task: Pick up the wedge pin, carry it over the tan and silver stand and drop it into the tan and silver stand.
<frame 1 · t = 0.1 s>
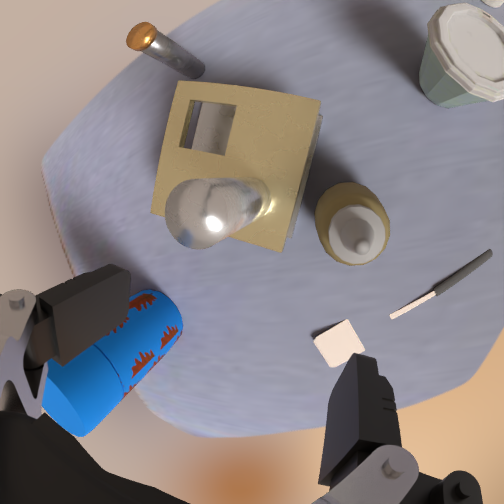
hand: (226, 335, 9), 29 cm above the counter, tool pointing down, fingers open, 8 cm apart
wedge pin: (195, 69, 35), on the counter
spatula: (410, 303, 36), on the counter
thermos: (156, 317, 47), on the counter
disposable coffee cup: (437, 85, 27), on the counter
tan and silver stand: (247, 161, 37), on the counter
squeeze bottle: (347, 213, 35), on the counter
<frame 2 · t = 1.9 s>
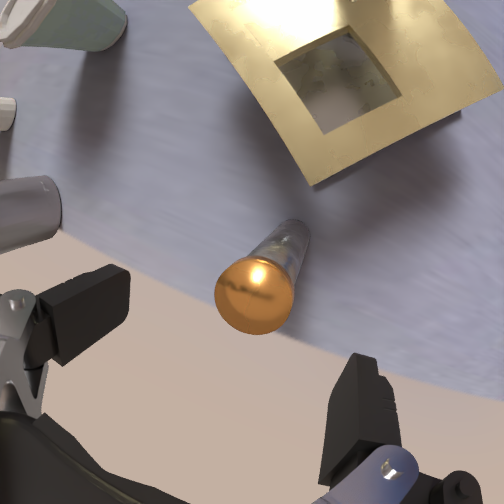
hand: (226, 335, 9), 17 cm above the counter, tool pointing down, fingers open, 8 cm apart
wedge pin: (292, 236, 25), on the counter
paper towel roll: (9, 115, 32), on the counter
disposable coffee cup: (110, 32, 25), on the counter
tan and silver stand: (345, 65, 20), on the counter
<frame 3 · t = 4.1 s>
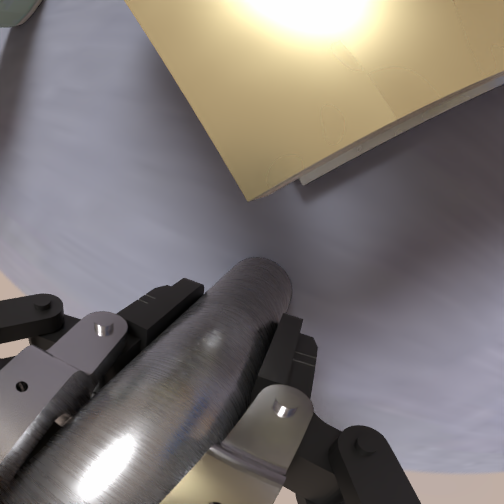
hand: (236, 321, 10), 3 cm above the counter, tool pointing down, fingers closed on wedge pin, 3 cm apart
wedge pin: (258, 289, 13), on the counter, touching gripper
disposable coffee cup: (34, 1, 12), on the counter
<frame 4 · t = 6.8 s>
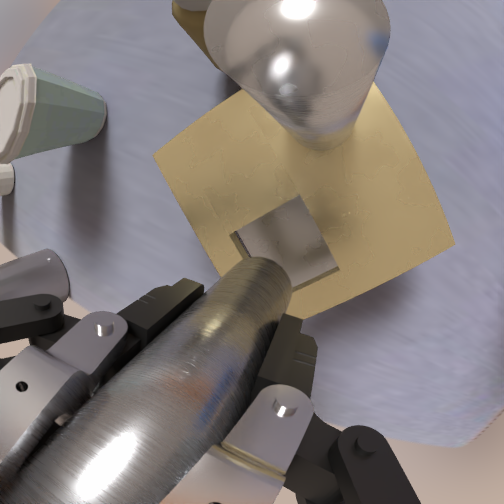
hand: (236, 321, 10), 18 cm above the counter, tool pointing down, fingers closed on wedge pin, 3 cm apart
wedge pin: (258, 288, 13), point 15 cm above the counter, touching gripper
paper towel roll: (8, 178, 38), on the counter
disposable coffee cup: (92, 119, 30), on the counter
tan and silver stand: (309, 186, 26), on the counter
squeeze bottle: (260, 54, 24), on the counter
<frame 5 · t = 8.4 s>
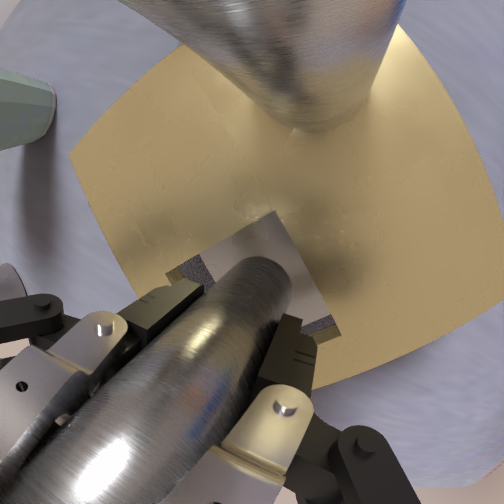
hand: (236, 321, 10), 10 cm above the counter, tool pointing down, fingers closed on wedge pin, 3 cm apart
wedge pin: (258, 288, 13), point 7 cm above the counter, touching gripper
disposable coffee cup: (43, 114, 23), on the counter
tan and silver stand: (299, 192, 18), on the counter
when the fingers open (9 cm above the counter, at t = 9.5 s): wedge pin drops 5 cm, resting on tan and silver stand.
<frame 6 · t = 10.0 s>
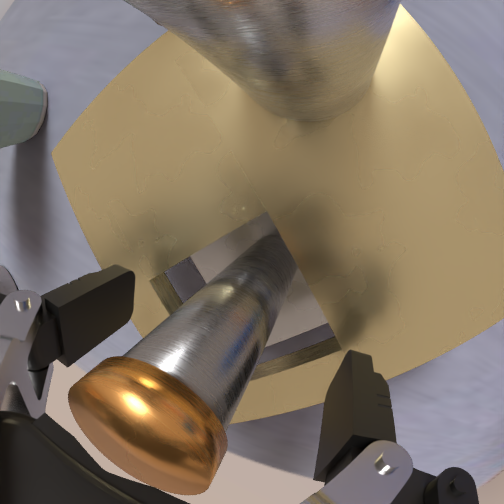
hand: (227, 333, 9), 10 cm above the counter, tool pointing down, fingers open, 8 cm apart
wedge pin: (274, 259, 17), point 1 cm above the counter, touching tan and silver stand
disposable coffee cup: (34, 113, 21), on the counter
tan and silver stand: (297, 190, 17), on the counter
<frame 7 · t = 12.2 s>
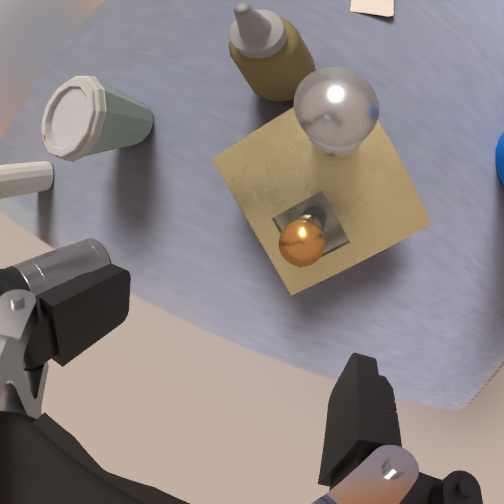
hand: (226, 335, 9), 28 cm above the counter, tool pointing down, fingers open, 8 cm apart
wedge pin: (314, 218, 34), point 1 cm above the counter, touching tan and silver stand
paper towel roll: (46, 175, 47), on the counter
disposable coffee cup: (138, 125, 38), on the counter
tan and silver stand: (325, 184, 34), on the counter
squeeze bottle: (285, 80, 32), on the counter
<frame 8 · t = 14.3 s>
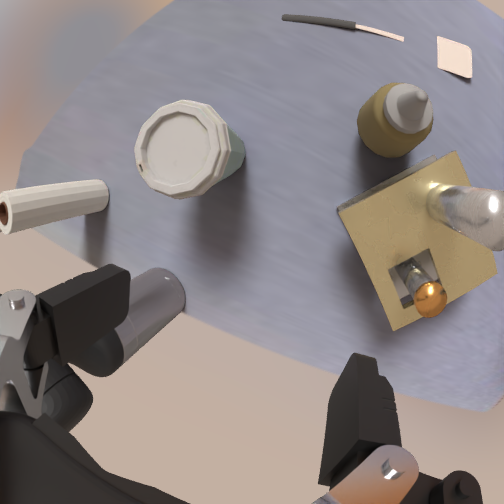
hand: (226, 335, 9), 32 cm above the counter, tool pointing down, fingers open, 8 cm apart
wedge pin: (401, 261, 36), point 1 cm above the counter, touching tan and silver stand
paper towel roll: (97, 195, 48), on the counter
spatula: (380, 35, 30), on the counter
disposable coffee cup: (225, 155, 40), on the counter
tan and silver stand: (411, 231, 36), on the counter
squeeze bottle: (383, 130, 34), on the counter
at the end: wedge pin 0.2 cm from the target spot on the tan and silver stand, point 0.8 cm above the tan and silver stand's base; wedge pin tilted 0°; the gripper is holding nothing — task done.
